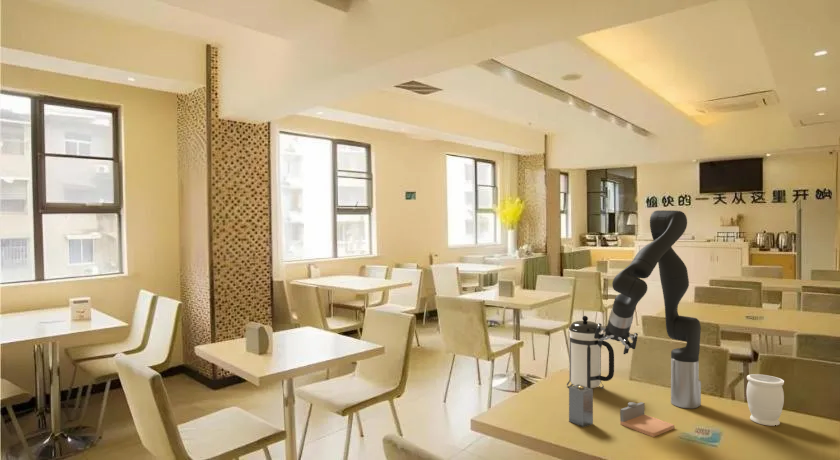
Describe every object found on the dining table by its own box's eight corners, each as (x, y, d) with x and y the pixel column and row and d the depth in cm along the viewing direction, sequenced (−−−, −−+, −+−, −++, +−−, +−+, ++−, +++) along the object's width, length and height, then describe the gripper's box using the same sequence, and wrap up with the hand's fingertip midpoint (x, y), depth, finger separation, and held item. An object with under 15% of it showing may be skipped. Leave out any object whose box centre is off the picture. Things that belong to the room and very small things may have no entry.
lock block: (578, 418, 175) (578, 382, 175) (592, 424, 170) (592, 387, 170) (569, 421, 173) (569, 385, 172) (583, 427, 168) (583, 390, 167)
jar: (779, 418, 174) (780, 375, 174) (787, 429, 165) (787, 384, 164) (743, 413, 179) (744, 372, 178) (749, 424, 169) (749, 380, 169)
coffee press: (569, 393, 200) (569, 319, 200) (564, 380, 216) (564, 312, 215) (614, 395, 197) (614, 320, 197) (606, 382, 213) (606, 313, 212)
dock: (638, 415, 177) (639, 399, 177) (674, 428, 166) (674, 410, 166) (618, 423, 171) (618, 406, 171) (653, 437, 160) (653, 418, 160)
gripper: (643, 317, 175) (633, 347, 185) (601, 306, 180) (594, 336, 190) (641, 333, 170) (631, 362, 180) (597, 321, 175) (590, 350, 185)
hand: (612, 349), depth 185 cm, fingers open, 8 cm apart
